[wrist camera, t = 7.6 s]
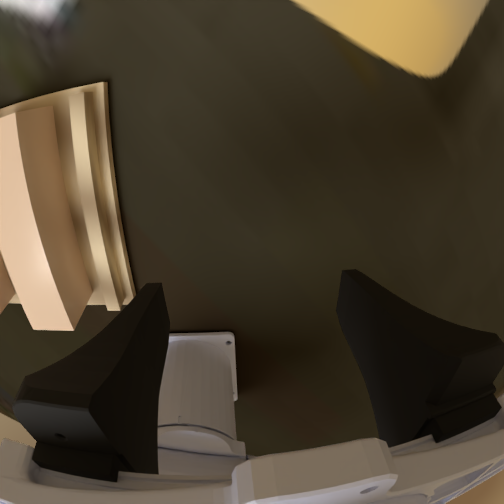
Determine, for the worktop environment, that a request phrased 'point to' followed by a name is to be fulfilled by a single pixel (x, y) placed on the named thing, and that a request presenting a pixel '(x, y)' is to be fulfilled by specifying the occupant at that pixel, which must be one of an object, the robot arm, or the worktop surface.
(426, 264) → the worktop surface
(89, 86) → the rack
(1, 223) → the clay bar
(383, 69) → the worktop surface
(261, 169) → the worktop surface
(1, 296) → the clay bar
